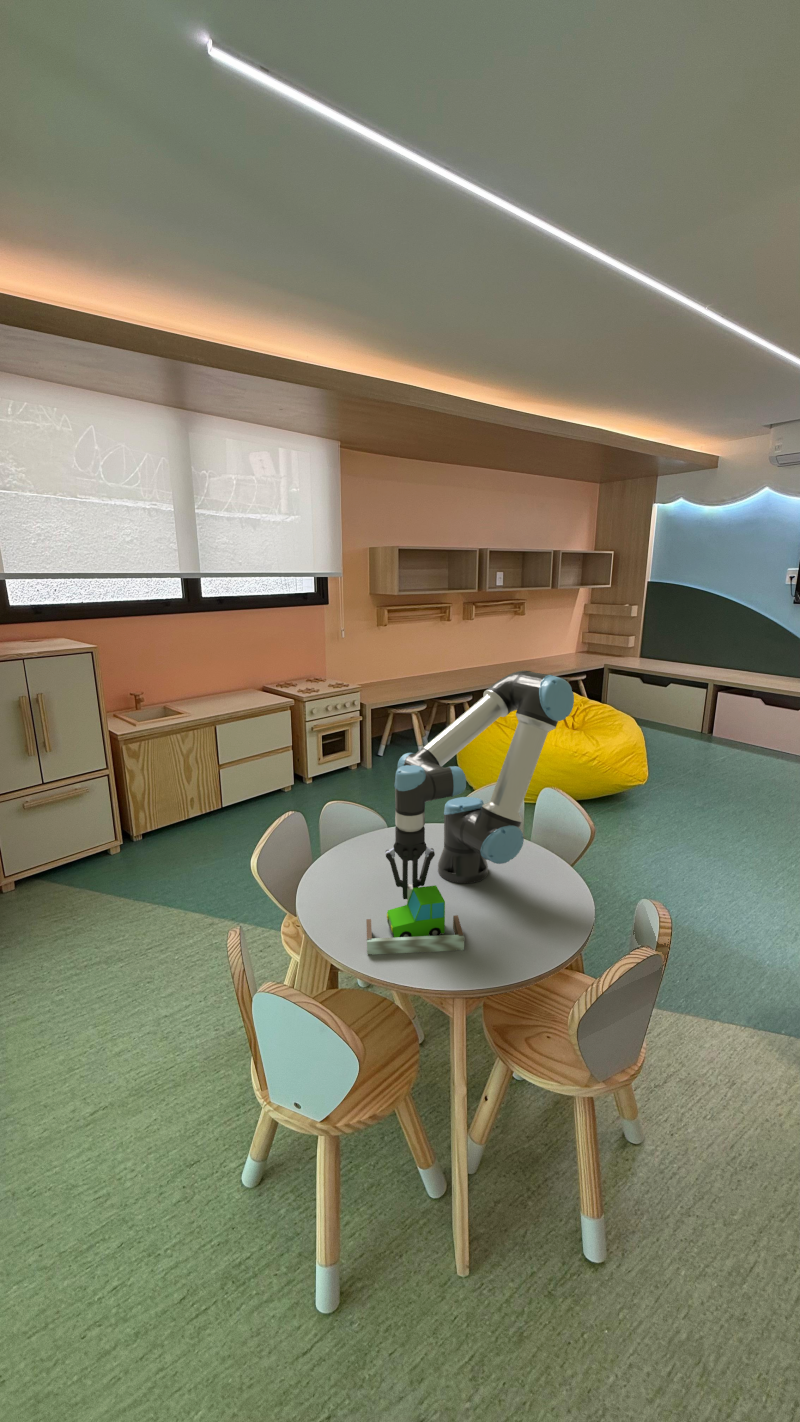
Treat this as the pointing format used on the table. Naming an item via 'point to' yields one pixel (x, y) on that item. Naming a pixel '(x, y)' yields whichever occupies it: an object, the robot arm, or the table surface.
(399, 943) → the bay
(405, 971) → the table surface
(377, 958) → the table surface
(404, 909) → the toy car
